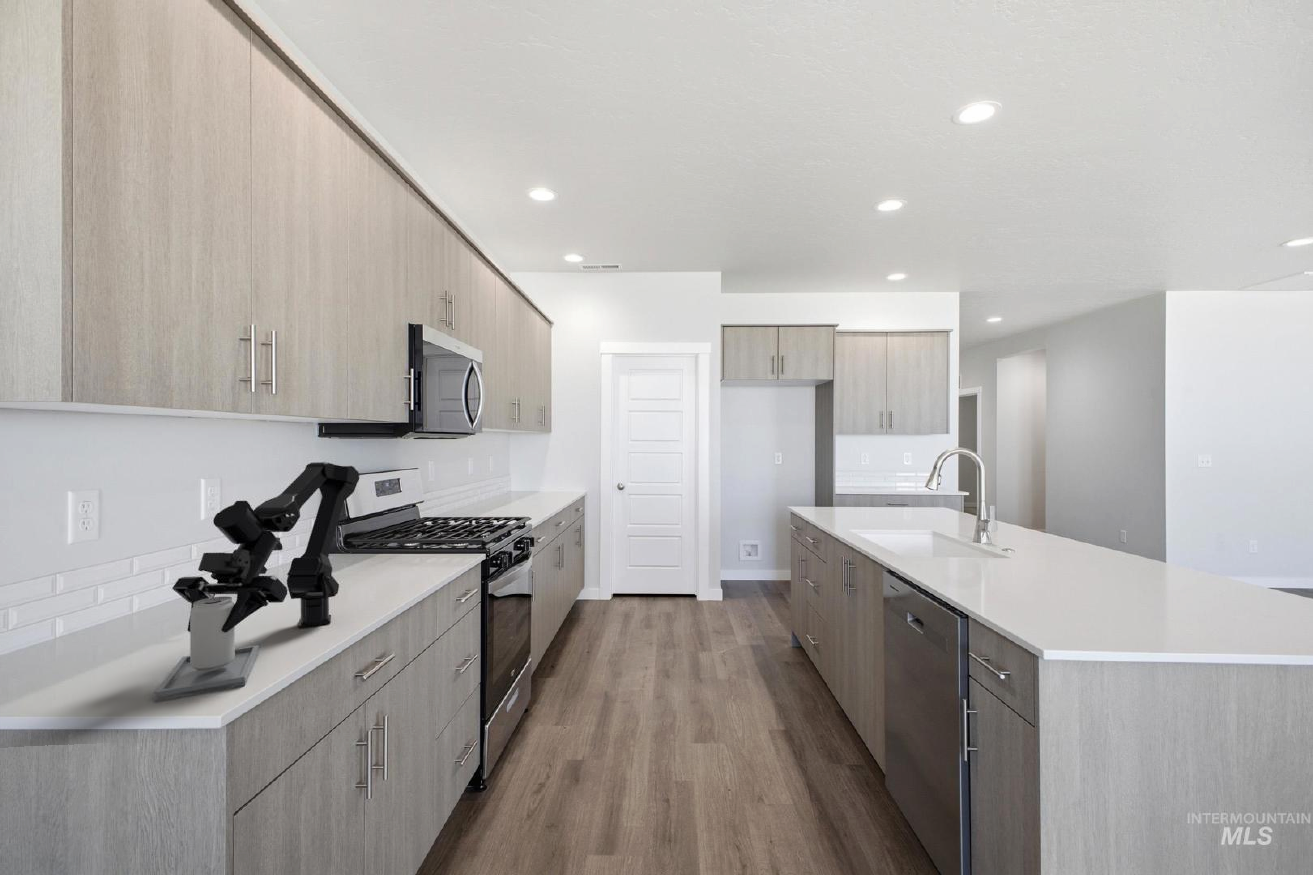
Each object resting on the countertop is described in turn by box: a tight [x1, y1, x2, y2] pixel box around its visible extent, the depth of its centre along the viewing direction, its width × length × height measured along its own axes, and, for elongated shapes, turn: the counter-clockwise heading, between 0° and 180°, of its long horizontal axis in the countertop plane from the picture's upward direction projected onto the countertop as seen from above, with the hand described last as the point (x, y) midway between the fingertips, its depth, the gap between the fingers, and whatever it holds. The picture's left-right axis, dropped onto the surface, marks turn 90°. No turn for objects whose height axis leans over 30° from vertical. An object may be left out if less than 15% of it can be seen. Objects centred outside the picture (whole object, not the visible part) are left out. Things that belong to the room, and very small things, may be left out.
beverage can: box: [189, 596, 236, 671], centre depth 103 cm, size 6×6×12 cm
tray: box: [154, 644, 260, 703], centre depth 103 cm, size 18×12×2 cm, turn 29°
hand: (206, 631), depth 102 cm, fingers closed on beverage can, 6 cm apart
